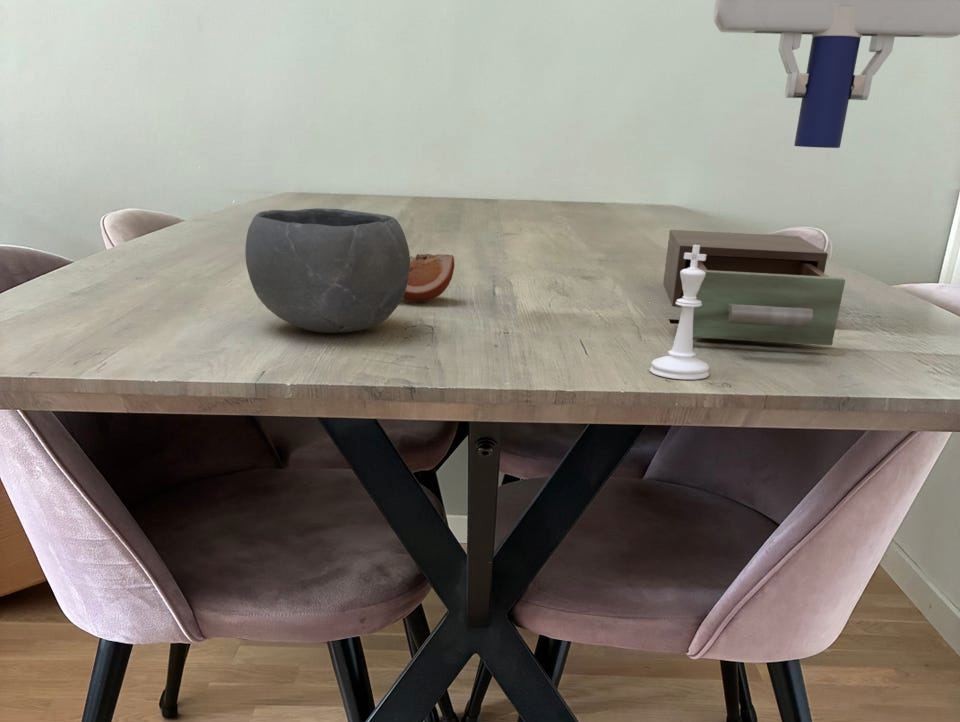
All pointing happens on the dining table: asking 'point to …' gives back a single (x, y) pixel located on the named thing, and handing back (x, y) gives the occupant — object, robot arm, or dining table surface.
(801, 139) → the glue stick
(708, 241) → the cabinet
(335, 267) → the bowl
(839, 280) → the drawer
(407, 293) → the fruit slice
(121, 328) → the dining table surface
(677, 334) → the chess piece
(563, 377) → the dining table surface
